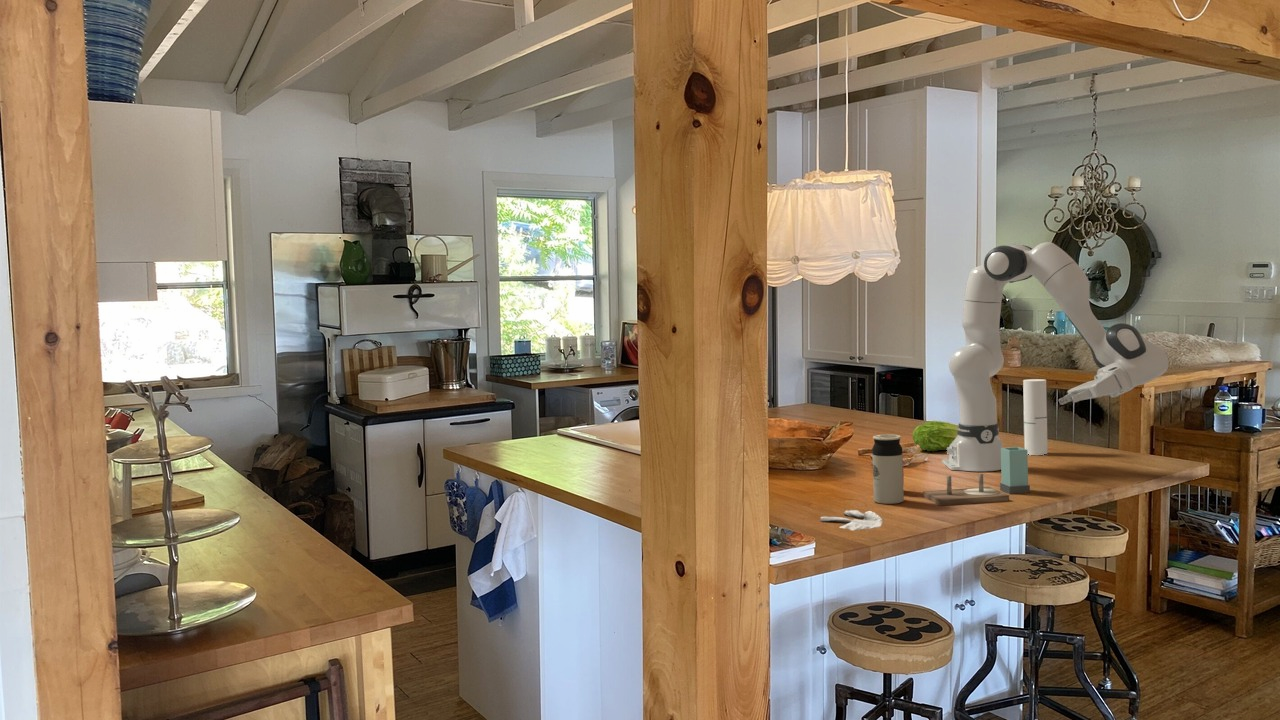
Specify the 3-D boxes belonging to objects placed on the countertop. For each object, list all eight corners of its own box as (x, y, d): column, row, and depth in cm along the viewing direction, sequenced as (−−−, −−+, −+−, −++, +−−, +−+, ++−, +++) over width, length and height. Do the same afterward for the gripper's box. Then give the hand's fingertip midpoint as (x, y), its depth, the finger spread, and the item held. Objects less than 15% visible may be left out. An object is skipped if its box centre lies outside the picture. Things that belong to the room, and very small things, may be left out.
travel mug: (901, 498, 274) (899, 433, 273) (906, 504, 266) (904, 438, 265) (872, 498, 275) (870, 434, 274) (875, 505, 267) (873, 438, 266)
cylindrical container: (1049, 455, 328) (1048, 380, 327) (1026, 455, 330) (1025, 381, 328) (1045, 452, 335) (1043, 378, 334) (1023, 452, 337) (1021, 379, 335)
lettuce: (991, 435, 344) (975, 411, 354) (929, 437, 338) (914, 412, 347) (979, 460, 351) (963, 436, 361) (917, 462, 345) (903, 437, 354)
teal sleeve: (1000, 490, 279) (999, 447, 278) (1019, 488, 279) (1019, 446, 278) (1009, 494, 273) (1008, 451, 272) (1029, 492, 273) (1029, 449, 272)
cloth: (856, 536, 237) (856, 526, 237) (791, 521, 255) (791, 512, 255) (911, 521, 249) (911, 512, 249) (846, 509, 267) (845, 500, 267)
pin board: (923, 496, 275) (922, 473, 274) (989, 492, 276) (988, 469, 276) (940, 505, 263) (939, 481, 262) (1009, 500, 264) (1008, 476, 264)
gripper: (1092, 374, 287) (1048, 393, 287) (1121, 367, 267) (1074, 388, 267) (1102, 393, 286) (1058, 413, 286) (1132, 388, 266) (1085, 409, 266)
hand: (1066, 401), depth 276 cm, fingers open, 8 cm apart
